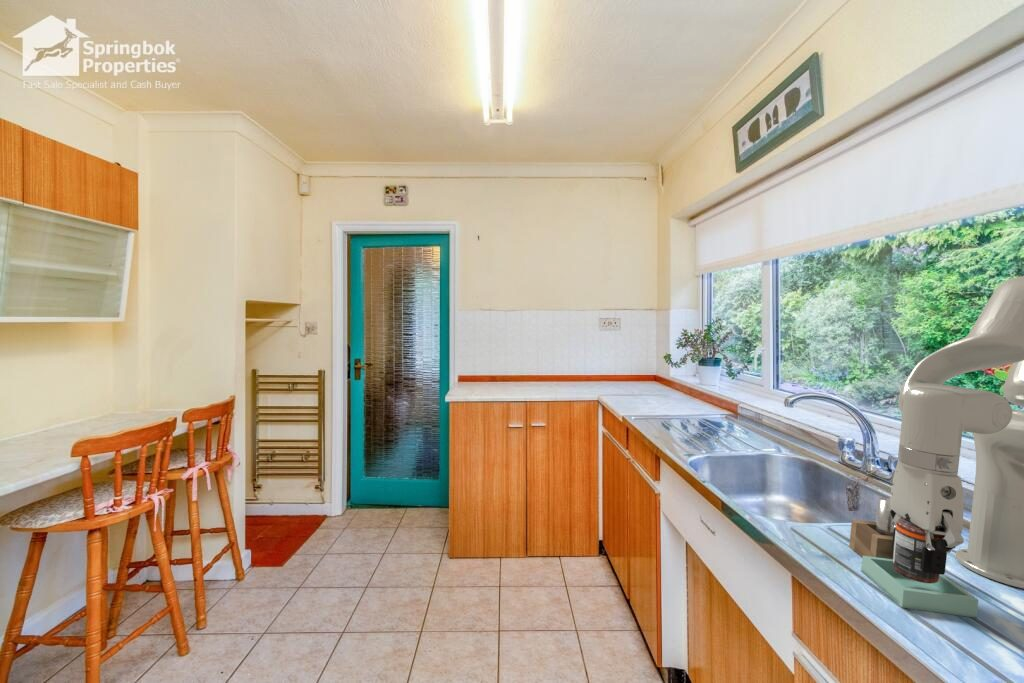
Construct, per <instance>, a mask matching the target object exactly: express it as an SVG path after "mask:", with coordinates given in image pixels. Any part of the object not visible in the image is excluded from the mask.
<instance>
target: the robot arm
mask: <svg viewBox="0 0 1024 683" xmlns="http://www.w3.org/2000/svg"><path fill="white" fill-rule="evenodd" d="M1008 365H1011V366H1010V368H1009V371H1008V373H1007V376H1006V377H1005V382H1004V384H1003V391H1002V392H1003V396H1004V397H1003V396H1001V394H998V393H995V392H992V391H989V390H983V389H977V388H969V387H961V386H955V385H948V384H944V383H946V382H948V381H949V380H951V379H953V378H955V377H957V376H960V375H963V374H966V373H972V372H977V371H982V370H988V369H995V368H998V367H1003V366H1008ZM1010 403H1011V404H1013V405H1014V406H1018V407H1022V408H1024V275H1023V276H1016V277H1013V278H1009V279H1008V280H1004V281H1003V282H1001V283H1000V284H999V285H998V286H997V287H996V288H995V289H994V291H993V293H992V294H991V296H990V298H989V299H988V301H987V302H986V304H985V306H984V307H983V309H982V311H981V313H980V314H979V316H978V318H977V320H976V321H975V322H974V324H973V326H972V327H971V329H970V331H969V332H968V334H967V335H966V336H965V337H963V338H961V339H959V340H956V341H954V342H951V343H949V344H947V345H945V346H942V347H941V348H939V349H937V350H936V351H934V352H932V353H931V354H929V355H927V356H926V357H924V358H922V359H921V360H920V361H919V362H917V363H916V365H915V366H914V368H913V369H912V370H911V371H910V373H909V374H908V377H907V378H906V379H905V381H904V383H903V385H902V388H901V389H900V391H899V394H898V399H897V405H898V410H900V413H902V415H901V426H900V434H899V435H900V436H899V445H898V455H897V463H896V465H895V470H894V473H893V477H892V483H891V490H890V496H889V498H888V497H887V498H888V499H887V504H888V506H889V509H890V510H891V511H890V514H891V516H892V518H893V521H892V526H893V527H894V532H893V542H892V549H893V550H894V542H895V531H896V522H897V520H898V519H900V518H902V517H904V518H906V516H905V514H907V513H908V515H909V517H910V518H911V519H910V521H911V522H912V523H914V524H915V525H917V526H918V527H920V528H921V529H923V531H924V536H925V542H926V547H927V548H926V547H923V549H922V558H921V570H922V571H924V572H926V573H934V574H942V575H944V574H946V566H947V565H946V564H947V555H948V554H949V553H951V551H952V550H954V549H955V548H956V547H958V546H960V545H963V544H964V542H965V541H964V538H963V537H964V536H962V533H963V529H964V528H963V526H964V509H965V508H964V489H963V482H962V478H961V476H960V475H958V474H959V468H960V467H959V466H960V465H959V464H960V457H961V447H962V437H963V432H964V433H965V432H966V433H972V434H973V441H974V447H975V448H974V449H975V459H976V460H975V478H974V486H973V493H972V494H973V496H972V504H971V516H970V523H969V531H968V532H969V533H968V542H967V548H962V549H959V550H957V551H956V552H955V559H956V561H957V562H958V563H959V564H961V565H962V566H963V567H965V568H967V569H968V570H970V571H972V572H974V573H976V574H977V575H980V576H983V577H985V578H988V579H991V580H993V581H995V582H998V583H1002V584H1004V585H1005V584H1006V585H1008V586H1012V587H1015V588H1019V589H1024V410H1020V409H1015V408H1012V406H1011V404H1010ZM935 527H938V528H939V531H935ZM933 534H936V535H939V538H940V539H938V540H936V541H934V537H933Z"/></svg>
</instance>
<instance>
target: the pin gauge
mask: <svg viewBox="0 0 1024 683" xmlns="http://www.w3.org/2000/svg"><path fill="white" fill-rule="evenodd" d="M887 499H888V497H878V504H877V514H876V522H877V523H876V532H878V533H879V534H881V535H885V536H893V532H894V527H893V526H892V521H893V518H892V516H891V514H890V511H891V510H890V509H889V506H888V504H887Z"/></svg>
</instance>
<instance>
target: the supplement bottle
mask: <svg viewBox="0 0 1024 683" xmlns="http://www.w3.org/2000/svg"><path fill="white" fill-rule="evenodd" d="M905 516H906V518H904V517H902V518H900V519H898V520H897V522H896V531H895V542H894V552H893V553H894V554H893V567H894V569H895V570H896V571H897V572H898V573H900V574H901V575H903V576H905V577H907V578H909V579H912V580H915V581H919V582H922V583H936V582H938V580H939V574H934V573H926V572H924V571H922V570H921V558H922V549H923V547H926V542H925V536H924V531H923V529H921V528H920V527H918V526H917V525H915V524H914V523H912V522H911V521H910V519H911V518H910V517H909V515H908V513H907V514H905ZM935 531H939V527H935ZM933 537H934V541H936V540H938V539H940V538H939V535H936V534H933ZM926 548H927V547H926Z"/></svg>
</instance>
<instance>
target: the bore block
mask: <svg viewBox="0 0 1024 683" xmlns="http://www.w3.org/2000/svg"><path fill="white" fill-rule="evenodd" d="M850 523H851V524H850V525H851V526H850V527H851V528H850V535H849V536H850V538H849V549H850V550H852V551H853V552H854V553H856V554H857V555H858V556H859V557H861V558H862V556H869V557H877V558H886V559H893V554H894V553H893V552H894V550H893V549H892V542H893V536H885V535H881V534H879V533H878V532H876V523H877V521H871V520H862V519H853V518H852V519H851V522H850Z"/></svg>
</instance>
